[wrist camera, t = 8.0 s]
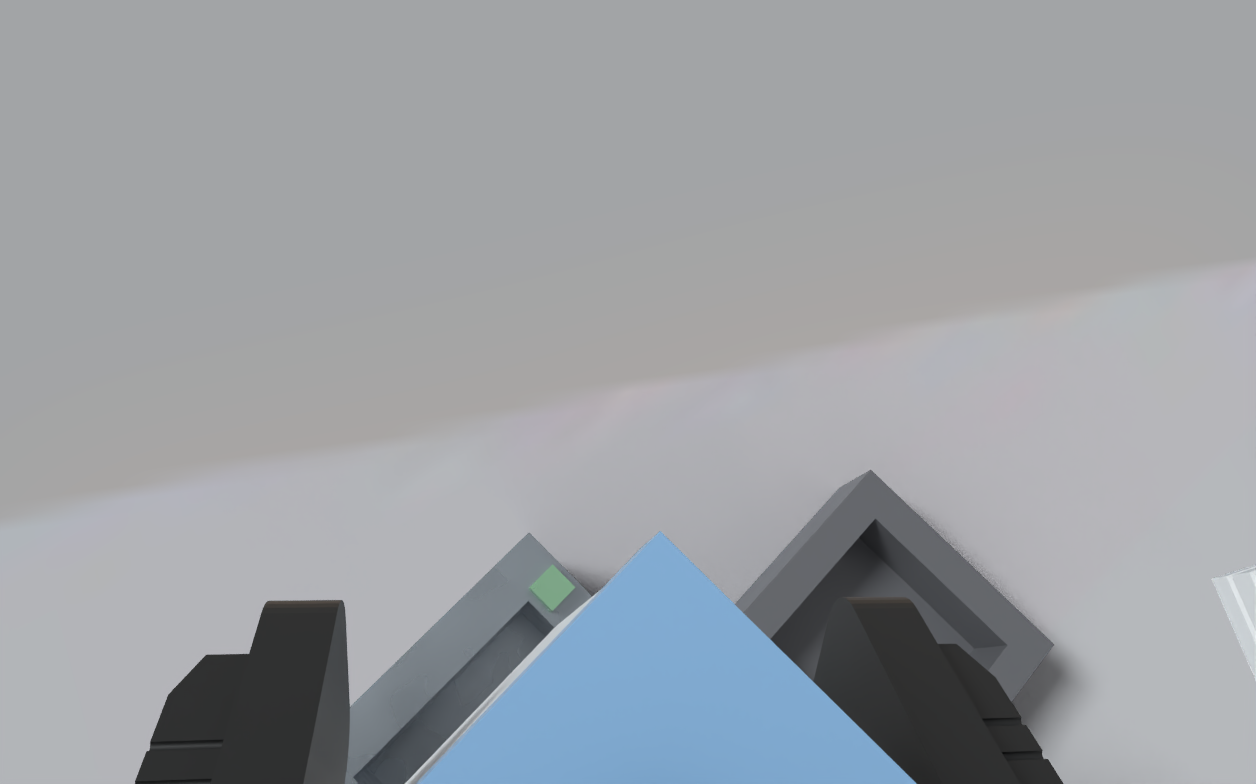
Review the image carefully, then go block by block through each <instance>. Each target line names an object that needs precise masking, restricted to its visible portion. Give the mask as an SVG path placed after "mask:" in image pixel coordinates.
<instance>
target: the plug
mask: <svg viewBox="0 0 1256 784" xmlns="http://www.w3.org/2000/svg"><path fill="white" fill-rule="evenodd" d="M405 784H917V783H916V782H915V781H914V780H913V779H912V778H910V777H909V776H908V775H907V774H906V773H905V772H904V771H903V770H902V769H901V768H900V767H899V766H898V765H897V764H896V763H895V762H894V761H893V760H892V759H891V758H890V757H889V756H888V755H887V754H886V753H885V752H884V751H883V750H882V749H881V748H880V747H879V746H878V745H877V744H876V743H875V742H874V741H873V740H872V739H871V738H870V737H869V736H868V735H867V734H866V733H865V732H864V731H863V730H862V729H861V728H860V727H859V726H858V725H857V724H856V723H855V722H854V721H853V720H852V719H851V718H850V717H849V716H847V715H846V714H845V713H844V712H843V711H842V710H841V709H840V708H839V707H838V706H837V705H836V704H835V703H834V702H833V701H832V700H831V699H830V698H829V697H828V696H827V695H826V694H825V693H824V692H823V691H822V690H821V689H820V688H819V687H818V686H817V685H816V684H815V683H814V682H813V681H812V680H811V679H810V678H809V677H808V676H807V675H806V674H805V673H804V672H803V671H802V670H801V669H800V668H799V667H798V666H797V665H796V664H795V663H794V662H793V661H792V660H791V659H790V658H789V657H788V656H787V655H786V654H784V653H783V652H782V651H781V650H780V649H779V648H778V647H777V646H776V645H775V644H774V643H773V642H772V641H771V640H770V639H769V638H768V637H767V636H766V635H765V634H764V633H763V632H762V631H761V630H760V629H759V628H758V627H757V626H756V625H755V624H754V623H753V622H752V621H751V620H750V619H749V618H748V617H747V616H746V615H745V614H744V613H743V612H742V611H741V610H740V609H739V608H738V607H737V606H736V605H735V604H734V603H733V602H732V601H731V600H730V599H729V598H728V597H727V596H726V595H725V594H724V593H723V592H721V591H720V590H719V589H718V588H717V587H716V586H715V585H714V584H713V583H712V582H711V581H710V580H709V579H708V578H707V577H706V576H705V575H704V574H703V573H702V572H701V571H700V570H699V569H698V568H697V567H696V566H695V565H694V564H693V563H692V562H691V561H690V560H689V559H688V558H687V557H686V556H685V555H684V554H683V553H682V552H681V551H680V550H679V549H678V548H677V547H676V546H675V545H674V544H673V543H672V542H671V541H670V540H669V539H668V538H667V537H666V536H665V535H664V534H663V533H662V532H661V531H660V532H659V533H658V534H656V535H655V536H654V537H653V538H652V539H651V540H649V541H648V542H647V543H646V544H645V545H644V546H643V547H641V548H640V549H639V550H638V551H637V552H636V554H635V555H634V556H633V557H632V558H631V559H630V560H629V561H628V562H627V563H626V564H625V565H624V566H623V567H622V568H621V569H620V570H619V571H618V572H617V573H616V574H615V576H614V577H613V578H612V579H611V580H610V581H609V582H608V583H607V584H606V585H605V586H604V587H603V588H602V589H601V590H600V591H599V592H597V593H596V594H595V595H594V596H592V597H591V598H590V599H589V600H587V601H586V602H585V603H584V604H583V605H581V606H580V607H579V608H578V609H576V610H575V611H574V612H573V613H571V614H570V615H569V616H568V617H567V618H565V619H564V620H563V621H562V622H560V623H559V624H558V625H557V626H556V627H555V628H554V629H553V630H552V631H551V632H550V633H549V634H548V635H547V636H546V637H545V638H544V639H543V640H542V641H541V642H540V643H539V644H538V645H537V646H536V648H535V649H534V650H533V651H532V652H531V653H530V654H529V655H528V656H527V657H526V658H525V659H524V660H523V661H522V662H521V663H520V664H519V665H518V666H517V667H516V668H515V669H514V670H513V671H512V673H511V674H510V675H509V676H508V677H507V678H506V679H505V680H504V681H503V682H502V683H501V684H500V685H499V686H498V687H497V688H496V689H495V690H494V691H493V692H492V693H491V694H490V695H489V697H488V698H487V699H486V700H485V701H484V702H483V703H482V704H481V705H480V706H479V707H478V708H477V709H476V710H475V711H474V712H473V713H472V714H471V715H470V716H469V717H468V718H467V719H466V720H465V722H464V723H463V724H462V725H461V726H460V727H459V728H458V729H457V730H456V731H455V732H454V733H453V734H452V735H451V736H450V737H449V738H448V739H447V740H446V741H445V742H444V743H443V744H442V745H441V747H440V748H439V749H438V750H437V751H436V752H435V753H434V754H433V755H432V756H431V757H430V758H429V759H428V760H427V761H426V762H425V763H424V764H423V765H422V766H421V767H420V768H419V769H418V770H417V772H416V773H415V774H414V775H413V776H412V777H411V778H410V779H409V780H408V781H407V782H406V783H405Z"/></svg>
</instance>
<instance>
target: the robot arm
mask: <svg viewBox="0 0 1256 784" xmlns="http://www.w3.org/2000/svg"><path fill="white" fill-rule="evenodd" d="M813 682H814V683H815V684H816V685H817V686H818V687H819V688H820V689H821V690H822V691H823V692H824V693H825V694H826V695H827V696H828V697H829V698H830V699H831V700H832V701H833V702H834V703H835V704H836V705H837V706H838V707H839V708H840V709H841V710H842V711H843V712H844V713H845V714H846V715H847V716H849V717H850V718H851V719H852V720H853V721H854V722H855V723H856V724H857V725H858V726H859V727H860V728H861V729H862V730H863V731H864V732H865V733H866V734H867V735H868V736H869V737H870V738H871V739H872V740H873V741H874V742H875V743H876V744H877V745H878V746H879V747H880V748H881V749H882V750H883V751H884V752H885V753H886V754H887V755H888V756H889V757H890V758H891V759H892V760H893V761H894V762H895V763H896V764H897V765H898V766H899V767H900V768H901V769H902V770H903V771H904V772H905V773H906V774H907V775H908V776H909V777H910V778H912V779H913V780H914V781H915V782H916V783H917V784H1063V782H1062V781H1061V779H1060V778H1059V776H1058V774H1057V773H1056V771H1055V770H1054V768H1053V767H1052V765H1051V763H1050V762H1049V760H1048V759H1043V757H1042V749H1041V748H1040V746H1039V745H1038V743H1037V741H1036V740H1035V738H1034V737H1033V735H1032V734H1031V732H1030V730H1029V729H1028V727H1027V726H1026V725H1022V724H1021V716H1020V715H1019V713H1018V712H1017V710H1016V708H1015V707H1014V705H1013V704H1012V702H1011V701H1010V699H1009V697H1008V696H1007V694H1006V693H1005V691H1004V690H1003V688H1002V686H1001V685H1000V683H999V682H998V680H997V679H996V677H995V676H993V675H992V674H991V673H990V672H989V671H988V670H986V669H985V668H984V667H983V666H982V665H981V664H979V663H978V662H977V661H976V660H975V659H974V658H972V657H971V656H970V655H969V654H968V653H967V652H965V651H964V650H963V649H962V648H961V647H960V646H958V645H957V644H938V643H937V642H936V640H935V638H934V637H933V635H932V633H931V632H930V630H929V628H928V626H927V625H926V623H925V621H924V620H923V618H922V616H921V615H920V613H919V611H918V609H917V608H916V606H915V605H914V603H913V602H912V601H911V600H910V599H908V598H906V597H841V598H838V599H837V600H836V601H835V602H834V604H833V606H832V608H831V611H830V615H829V619H828V623H827V627H826V631H825V635H824V639H823V643H822V648H821V652H820V656H819V660H818V664H817V668H816V672H815V676H814V681H813ZM349 733H350V704H349V682H348V660H347V638H346V617H345V607H344V603H343V601H342V600H310V601H267V602H266V604H265V606H264V608H263V610H262V613H261V617H260V620H259V623H258V627H257V630H256V633H255V637H254V640H253V643H252V647H251V650H250V653H249V654H226V655H206V656H205V657H204V658H203V659H202V660H201V661H200V662H199V663H198V664H197V665H196V666H195V667H194V668H193V669H192V670H191V672H190V673H189V674H188V675H187V676H186V677H185V678H184V679H183V680H182V681H181V682H180V683H179V684H178V685H177V686H176V687H175V688H174V689H173V690H172V692H171V693H170V694H169V695H168V697H167V700H166V702H165V705H164V707H163V710H162V713H161V715H160V718H159V721H158V723H157V726H156V728H155V731H154V734H153V736H152V739H151V741H150V750H149V751H147V752H146V754H145V757H144V760H143V762H142V765H141V767H140V770H139V773H138V775H137V778H136V781H135V784H345V778H346V771H347V762H348V750H349Z"/></svg>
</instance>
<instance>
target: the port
mask: <svg viewBox="0 0 1256 784" xmlns="http://www.w3.org/2000/svg"><path fill="white" fill-rule="evenodd" d="M591 597H592V596H591V595H590V594H589V592H588V591H587V590H586V589H585V588H584V587H583V586H582V585H581V584H580V583H579V582H578V581H577V580H576V579H575V578H574V577H573V576H572V575H571V574H570V573H569V572H568V571H567V570H566V569H565V568H564V567H563V566H562V565H561V564H560V563H559V562H558V561H557V560H556V559H555V558H554V557H553V556H552V555H551V554H550V553H549V552H548V551H547V550H546V549H545V548H544V547H543V546H542V545H541V544H540V543H539V542H538V541H537V540H536V539H535V538H534V537H533V536H532V535H531V534H530V533H528V534H527V535H526V536H525V537H524V538H523V539H522V540H521V541H520V542H519V543H518V544H517V545H516V546H515V547H514V548H513V549H512V550H511V551H510V552H508V553H507V554H506V555H505V556H504V557H503V558H502V559H501V560H500V561H499V562H498V563H497V564H496V565H495V566H494V567H493V568H492V569H491V570H490V571H489V572H488V573H487V574H486V575H485V576H484V577H483V578H482V579H481V580H480V581H479V582H478V583H477V584H476V585H475V586H474V587H473V588H472V589H471V590H470V591H469V592H468V593H466V594H465V595H464V596H463V597H462V598H461V599H460V600H459V601H458V602H457V603H456V604H455V605H454V606H453V607H452V608H451V609H450V610H449V611H448V612H447V613H446V614H445V615H444V616H443V617H442V618H441V619H440V620H439V621H438V622H437V623H436V624H435V625H434V626H433V627H432V628H431V629H430V630H429V631H428V632H427V633H425V634H424V635H423V636H422V637H421V638H420V639H419V640H418V641H417V642H416V643H415V644H414V645H413V646H412V647H411V648H410V649H409V650H408V651H407V652H406V653H405V654H404V655H403V656H402V657H401V658H400V659H399V660H398V661H397V662H396V663H395V664H394V665H393V666H392V667H391V668H390V669H389V670H388V671H387V672H386V673H385V674H383V675H382V676H381V677H380V678H379V679H378V680H377V681H376V682H375V683H374V684H373V685H372V686H371V687H370V688H369V689H368V690H367V691H366V692H365V693H364V694H363V695H362V696H361V697H360V698H359V699H358V700H357V701H356V702H355V703H354V704H353V705H352V706H351V707H350V733H349V750H348V762H347V771H346V778H345V784H405V783H406V782H407V781H408V780H409V779H410V778H411V777H412V776H413V775H414V774H415V773H416V772H417V770H418V769H419V768H420V767H421V766H422V765H423V764H424V763H425V762H426V761H427V760H428V759H429V758H430V757H431V756H432V755H433V754H434V753H435V752H436V751H437V750H438V749H439V748H440V747H441V745H442V744H443V743H444V742H445V741H446V740H447V739H448V738H449V737H450V736H451V735H452V734H453V733H454V732H455V731H456V730H457V729H458V728H459V727H460V726H461V725H462V724H463V723H464V722H465V720H466V719H467V718H468V717H469V716H470V715H471V714H472V713H473V712H474V711H475V710H476V709H477V708H478V707H479V706H480V705H481V704H482V703H483V702H484V701H485V700H486V699H487V698H488V697H489V695H490V694H491V693H492V692H493V691H494V690H495V689H496V688H497V687H498V686H499V685H500V684H501V683H502V682H503V681H504V680H505V679H506V678H507V677H508V676H509V675H510V674H511V673H512V671H513V670H514V669H515V668H516V667H517V666H518V665H519V664H520V663H521V662H522V661H523V660H524V659H525V658H526V657H527V656H528V655H529V654H530V653H531V652H532V651H533V650H534V649H535V648H536V646H537V645H538V644H539V643H540V642H541V641H542V640H543V639H544V638H545V637H546V636H547V635H548V634H549V633H550V632H551V631H552V630H553V629H554V628H555V627H556V626H557V625H558V624H559V623H560V622H562V621H563V620H564V619H565V618H567V617H568V616H569V615H570V614H571V613H573V612H574V611H575V610H576V609H578V608H579V607H580V606H581V605H583V604H584V603H585V602H586V601H587V600H589V599H590V598H591Z"/></svg>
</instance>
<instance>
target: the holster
mask: <svg viewBox="0 0 1256 784" xmlns="http://www.w3.org/2000/svg"><path fill="white" fill-rule="evenodd" d="M841 597H906V598H908V599H910V600H911V601H912V602H913V603H914V605H915V606H916V608H917V609H918V611H919V613H920V615H921V616H922V618H923V620H924V621H925V623H926V625H927V626H928V628H929V630H930V632H931V633H932V635H933V637H934V638H935V640H936V642H937V643H938V644H957V645H958V646H960V647H961V648H962V649H963V650H964V651H965V652H967V653H968V654H969V655H970V656H971V657H972V658H974V659H975V660H976V661H977V662H978V663H979V664H981V665H982V666H983V667H984V668H985V669H986V670H988V671H989V672H990V673H991V674H992V675H993V676H995V677H996V679H997V680H998V682H999V683H1000V685H1001V686H1002V688H1003V690H1004V691H1005V693H1006V694H1007V696H1008V697H1009V699H1010V701H1011V702H1012V701H1013V699H1014V698H1015V697H1016V695H1017V694H1018V693H1019V691H1020V690H1021V689H1022V687H1023V686H1024V685H1025V683H1026V682H1027V681H1028V679H1029V678H1030V677H1031V675H1032V674H1033V673H1034V671H1035V670H1036V668H1037V667H1038V666H1039V664H1040V663H1041V662H1042V660H1043V659H1044V658H1045V656H1046V655H1047V654H1048V652H1049V651H1050V650H1051V648H1052V647H1053V646H1054V644H1053V643H1052V642H1051V641H1050V640H1049V639H1048V638H1047V637H1046V636H1045V635H1044V634H1042V633H1041V632H1040V631H1039V630H1038V629H1037V628H1036V627H1035V626H1034V625H1033V624H1032V623H1031V622H1030V621H1029V620H1028V619H1027V618H1026V617H1025V616H1024V615H1023V614H1021V613H1020V612H1019V611H1018V610H1017V609H1016V608H1015V607H1014V606H1013V605H1012V604H1011V603H1010V602H1009V601H1008V600H1007V599H1006V598H1005V597H1004V596H1003V595H1002V594H1001V593H999V592H998V591H997V590H996V589H995V588H994V587H993V586H992V585H991V584H990V583H989V582H988V581H987V580H986V579H985V578H984V577H983V576H982V575H981V574H980V573H978V572H977V571H976V570H975V569H974V568H973V567H972V566H971V565H970V564H969V563H968V562H967V561H966V560H965V559H964V558H963V557H962V556H961V555H960V554H959V553H957V552H956V551H955V550H954V549H953V548H952V547H951V546H950V545H949V544H948V543H947V542H946V541H945V540H944V539H943V538H942V537H941V536H940V535H939V534H938V533H937V532H935V531H934V530H933V529H932V528H931V527H930V526H929V525H928V524H927V523H926V522H925V521H924V520H923V519H922V518H921V517H920V516H919V515H918V514H917V513H916V512H914V511H913V510H912V509H911V508H910V507H909V506H908V505H907V504H906V503H905V502H904V501H903V500H902V499H901V498H900V497H899V496H898V495H897V494H896V493H895V492H894V491H892V490H891V489H890V488H889V487H888V486H887V485H886V484H885V483H884V482H883V481H882V480H881V479H880V478H879V477H878V476H877V475H876V474H875V473H874V472H873V471H871V470H870V471H868V472H866V473H864V474H863V475H861V476H859V477H857V478H856V479H854V480H852V481H850V482H849V483H847V484H845V485H843V486H842V487H840V488H839V489H838V490H837V491H836V492H835V494H834V495H833V496H832V497H831V498H830V499H829V500H828V501H827V502H826V504H825V505H824V506H823V507H822V508H821V509H820V510H819V511H818V512H817V514H816V515H815V516H814V517H813V518H812V519H811V520H810V521H809V522H808V524H807V525H806V526H805V527H804V528H803V529H802V530H801V531H800V532H799V534H798V535H797V536H796V537H795V538H794V539H793V540H792V541H791V542H790V544H789V545H788V546H787V547H786V548H785V549H784V550H783V551H782V552H781V554H780V555H779V556H778V557H777V558H776V559H775V560H774V561H773V563H772V564H771V565H770V566H769V567H768V568H767V569H766V570H765V571H764V573H763V574H762V575H761V576H760V577H759V578H758V579H757V580H756V581H755V583H754V584H753V585H752V586H751V587H750V588H749V589H748V590H747V591H746V593H745V594H744V595H743V596H742V597H741V598H740V599H739V600H738V601H737V603H736V604H735V605H736V606H737V607H738V608H739V609H740V610H741V611H742V612H743V613H744V614H745V615H746V616H747V617H748V618H749V619H750V620H751V621H752V622H753V623H754V624H755V625H756V626H757V627H758V628H759V629H760V630H761V631H762V632H763V633H764V634H765V635H766V636H767V637H768V638H769V639H770V640H771V641H772V642H773V643H774V644H775V645H776V646H777V647H778V648H779V649H780V650H781V651H782V652H783V653H784V654H786V655H787V656H788V657H789V658H790V659H791V660H792V661H793V662H794V663H795V664H796V665H797V666H798V667H799V668H800V669H801V670H802V671H803V672H804V673H805V674H806V675H807V676H808V677H809V678H810V679H811V680H812V681H814V676H815V672H816V668H817V664H818V660H819V656H820V652H821V648H822V643H823V639H824V635H825V631H826V627H827V623H828V619H829V615H830V611H831V608H832V606H833V604H834V602H835V601H836V600H837V599H838V598H841Z"/></svg>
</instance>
